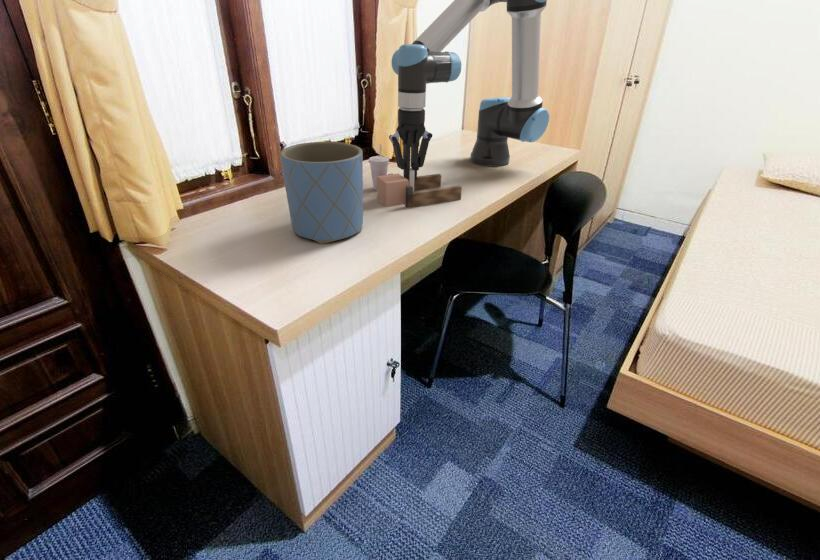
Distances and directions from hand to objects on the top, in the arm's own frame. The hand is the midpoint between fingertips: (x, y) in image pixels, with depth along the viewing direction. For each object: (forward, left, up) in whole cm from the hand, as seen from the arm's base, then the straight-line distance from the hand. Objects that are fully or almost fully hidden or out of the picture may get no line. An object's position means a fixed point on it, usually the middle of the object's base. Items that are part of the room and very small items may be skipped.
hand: (409, 190), depth 131 cm
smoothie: (+5, -12, -3) cm, 13 cm away
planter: (+29, +12, -3) cm, 32 cm away
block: (+6, 0, -2) cm, 6 cm away
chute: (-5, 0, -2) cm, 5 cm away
